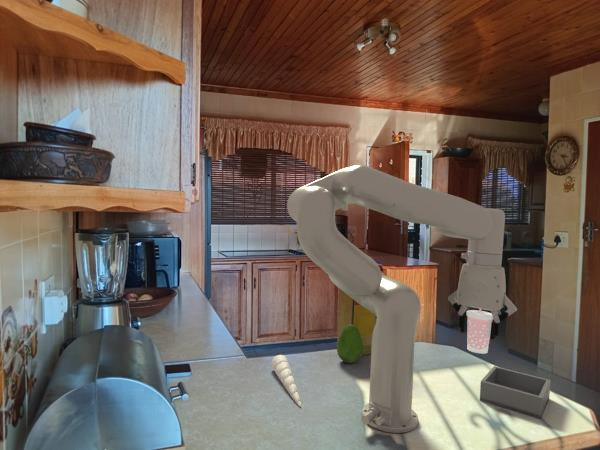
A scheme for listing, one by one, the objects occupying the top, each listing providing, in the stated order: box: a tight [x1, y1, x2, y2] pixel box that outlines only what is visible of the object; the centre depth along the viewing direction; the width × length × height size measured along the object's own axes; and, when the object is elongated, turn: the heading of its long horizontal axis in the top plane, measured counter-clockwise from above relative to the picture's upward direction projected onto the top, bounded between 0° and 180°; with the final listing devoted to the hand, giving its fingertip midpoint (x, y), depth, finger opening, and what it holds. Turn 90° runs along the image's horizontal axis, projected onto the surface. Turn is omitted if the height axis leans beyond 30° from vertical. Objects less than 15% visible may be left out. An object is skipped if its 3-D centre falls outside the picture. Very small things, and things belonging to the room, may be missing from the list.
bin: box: [479, 365, 551, 420], centre depth 106 cm, size 14×14×5 cm
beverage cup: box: [466, 309, 493, 355], centre depth 98 cm, size 6×6×14 cm
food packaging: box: [336, 288, 377, 356], centre depth 139 cm, size 13×9×25 cm
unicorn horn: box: [271, 354, 302, 408], centre depth 109 cm, size 5×24×5 cm, turn 12°
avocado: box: [336, 324, 363, 364], centre depth 127 cm, size 8×8×12 cm
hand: (478, 333), depth 98 cm, fingers closed on beverage cup, 6 cm apart
